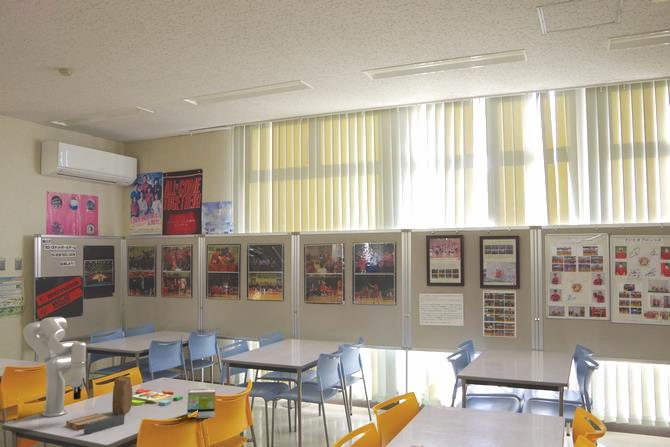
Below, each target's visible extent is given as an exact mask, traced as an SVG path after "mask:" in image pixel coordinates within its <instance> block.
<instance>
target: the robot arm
mask: <svg viewBox="0 0 670 447" xmlns="http://www.w3.org/2000/svg"><path fill="white" fill-rule="evenodd" d="M67 327H68V322H67V320H66V319H65V317H63V316H53V317H52V316H50V317H46V318H45V317H44V318H43V319H41V321H37V322H32V323H28V324H27V325H25V326H24V328H23V330H22V331H23V332H22V333H23V338H24V340H25V342H26V344H27V345H28V346H29V347H31V349H32V350H34V352H35V353H36V355H37V356H38V358H40V360H41V361H42V362H43V363H45V373H46V389H45V393H46V394H45V405H44V406H43V409H44V411H43V412H42V413H41V415H42V416H43V417H47V418H49V417H59V416H63V415H65V414H67V413H68V410H67V409H65V395H66V394H65V393H66V380H65V378H64V376H63V374H66V373H67V374H68V379H67V385H68V386H69V387H70V388H72V392H73V400H75V401H76V400H80V399H81V396H82V395H81V394H82V390H84V389H85V386H86V384H87V373H86V372H87V370H86V360H87V359H86V358H87V357H86V356H87V343H86V342H83V341H82V342H81V341H78V340H72V341H71V340H69V341H63V342H62V339H63V338H64V337H65V335H66V329H67ZM44 337H48V338H49V339H46V338H44ZM60 341H61V342H60Z"/></svg>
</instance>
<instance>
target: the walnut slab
mask: <svg viewBox="0 0 670 447" xmlns="http://www.w3.org/2000/svg"><path fill="white" fill-rule="evenodd" d="M107 417H109V416H108V415H104V414H101V413H94V414H91V415H86V416H82V417H78V418H73V419H70V420H66V423H65V425H66V427H68V428H71V429H74V430H77V431H81V430H84V424H85V423H88V422H92V421H96V420H100V419H103V418H107Z"/></svg>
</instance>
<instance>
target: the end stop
mask: <svg viewBox="0 0 670 447" xmlns="http://www.w3.org/2000/svg"><path fill="white" fill-rule="evenodd" d="M125 414H126V413H125ZM125 414H115V415H111V416H108V417H107V418H103V419H100V420H96V421H92V422H88V423H85V424H84V429H83V434H84V435H90V434H94V433H97V432H100V431H103V430H108V429H111V428H115V427H118V426H121V425H124V424H125ZM93 432H94V433H93Z"/></svg>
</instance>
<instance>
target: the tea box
mask: <svg viewBox="0 0 670 447" xmlns="http://www.w3.org/2000/svg"><path fill="white" fill-rule="evenodd" d="M215 406H216V389H215V388H214V387H211V388H210V387H207V388H206V387H204V388H189V389H188V391H187V409H186V410H187V412H186V414H187V415H189V414H191V413H193V412H195V411H197V410H198V416H197V418H196V419H210V418H212V419H213V418H215V411H216V410H215V409H216V408H215Z"/></svg>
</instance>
